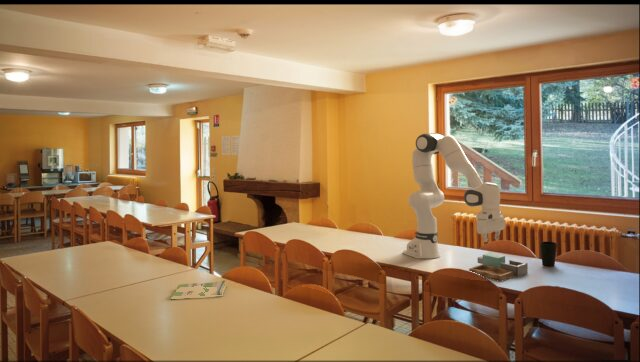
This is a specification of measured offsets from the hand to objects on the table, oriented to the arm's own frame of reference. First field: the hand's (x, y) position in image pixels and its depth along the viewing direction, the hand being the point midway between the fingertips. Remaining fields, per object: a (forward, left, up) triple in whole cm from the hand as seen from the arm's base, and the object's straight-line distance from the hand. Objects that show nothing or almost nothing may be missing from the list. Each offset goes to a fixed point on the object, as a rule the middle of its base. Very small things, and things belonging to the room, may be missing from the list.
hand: (491, 240), depth 220 cm
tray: (+7, -11, -15) cm, 19 cm away
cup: (+17, +25, -15) cm, 33 cm away
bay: (+12, 0, -15) cm, 19 cm away
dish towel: (-64, -133, -15) cm, 148 cm away
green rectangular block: (-1, 0, -15) cm, 15 cm away
